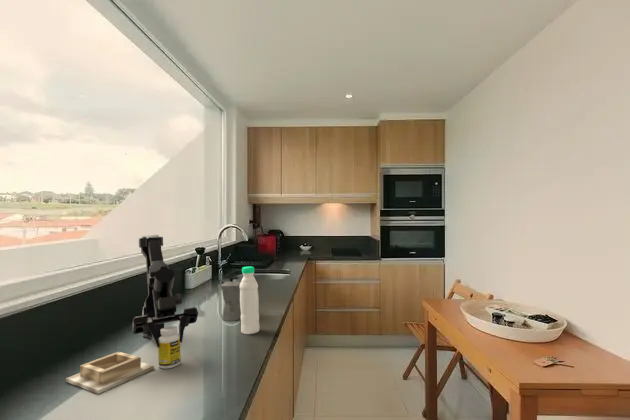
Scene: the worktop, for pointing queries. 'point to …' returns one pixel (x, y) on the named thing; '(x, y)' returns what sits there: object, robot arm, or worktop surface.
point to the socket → (109, 372)
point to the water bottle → (249, 302)
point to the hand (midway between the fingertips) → (170, 344)
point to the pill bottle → (169, 348)
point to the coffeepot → (231, 300)
